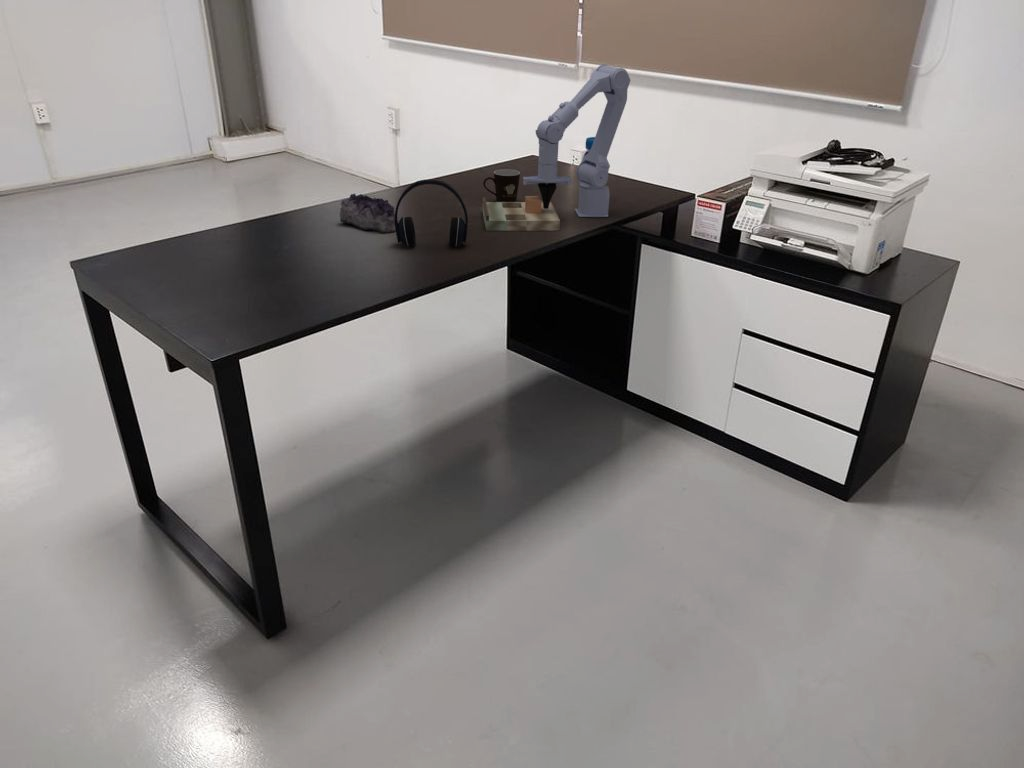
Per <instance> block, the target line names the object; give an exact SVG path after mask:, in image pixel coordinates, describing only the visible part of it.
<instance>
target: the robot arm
mask: <svg viewBox="0 0 1024 768" xmlns="http://www.w3.org/2000/svg"><path fill="white" fill-rule="evenodd" d="M630 83H631V78H630V76H629V73H628V71H627V70H626V69H625V68H623V67H616V66H611V65H606V64H601V65H599V66H597V67H596V69H595V70H594V71H593V72H592V73H591V75H590V78H589V80H588V81H587V82H586V83H585V84H584V85H583V86H582V87H581V89H579V91H577V93H576V95H575V96H574V97H573V98H572V99H571V100H570V101H564V102H560V104H559V105H558V108H557V109H556V110H555V111H554V112H553V113H552V114H551V115H549V116H548V118H547V119H544V120H542V121H541V122H540V123H539V124H538V126H537V129H535V135H536V137H537V139H538V166H537V168H538V170H537V175H534V176H533V175H532V176H522V184H523V185H524V186H527V185H537V186H538V188H539V192H540V195H541V196H540V197H541V200H542V202H543V208H544V209H548V208H549V204H550V202H551V200H552V198H553V195H554V194H555V192H556V190H557V185H567V186H571V185H572V177H571V176H560V175H558V161H559V160H558V159H559V143H560V142H561V140H562V139H563V136H564V133H565V131H566V129H567V128H568V127H569V126H570V125H571V124H573V122H574V121H575V120H576V119H577V118H578V117H579V111H580V110H581V109H582V108H584V106H586V104H587V103H588V102H589V101H591V100H592V99H593V98H594V97H595V96H596V95H597V94H598V93H603V94H604V96H605V99H606V100H607V101H606V105H605V108H604V111H603V113H602V116H601V119H600V122H599V125H598V127H597V131H596V133H595V136H594V137H595V139H594V142H593V145H592V148H591V151H590V152H589V153H588V154H587V155H585V156H584V155H583V156H584V157H583V156H582V159H581V161H580V163H579V164H578V165H577V167H576V170H575V176H576V177H575V178H577V180H578V185H579V191H578V206H577V207H578V208H574V211H575V213H576V214H577V216H578V217H579V218H608V217H609V207H610V196H611V195H610V188H609V186H608V185H606V184H607V182H608V180H609V172H610V171H609V170H610V168H611V166H610V163H609V161H608V155H609V153H610V150H611V147H612V144H613V141H614V138H615V136H616V132H617V131H618V127H619V123H620V121H621V118H622V115H623V113H624V110H625V107H626V106H627V105H626V104H627V101H628V89H629V85H630ZM594 164H596V165H594ZM604 185H605V186H604Z"/></svg>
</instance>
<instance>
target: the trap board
mask: <svg viewBox="0 0 1024 768" xmlns="http://www.w3.org/2000/svg"><path fill="white" fill-rule="evenodd" d="M482 216H483V222H484V225H485V226H484V227H485V231H486V232H488V231H489V232H495V231H496V232H498V231H499V232H500V231H501V232H503V231H505V232H506V231H507V232H508V231H509V232H511V231H512V232H513V231H514V232H516V231H518V232H519V231H521V232H522V231H523V232H524V231H525V232H526V231H529V232H530V231H536V232H537V231H538V232H539V231H542V232H543V231H544V232H545V231H547V232H548V231H550V232H551V231H553V232H554V231H560V228H561V219H560V217H559V215H558V213H557V211H556V209H555V207H554V205H553V203H552V202H551V201H550V204H549V208H548V209H544V208H543V201H542V205H541V213H526V210H525V201H516V202H497V201H487V200H486V197H482Z"/></svg>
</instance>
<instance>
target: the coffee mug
mask: <svg viewBox="0 0 1024 768" xmlns="http://www.w3.org/2000/svg"><path fill="white" fill-rule="evenodd" d="M520 175H521V172H520V171H518V170H517V169H507V168H506V169H505V168H504V169H496V170H494V171H493V177H494V178H493V177H491V176H490V177H486V178H484V179H483V181H482V182H483V183H482V184H483V188H485V189H486V191H488V192H489V193H491V194H492V195H494V196H495V197H496V198H495V199H496V202H517V198H518V192H519V191H518V190H519V185H520V178H521V177H520ZM488 180H492V181H493V183H494V188H495V191H494V192H493V191H492V190H490V189H489V188H488V187H487V186H486V182H487V181H488Z"/></svg>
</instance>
